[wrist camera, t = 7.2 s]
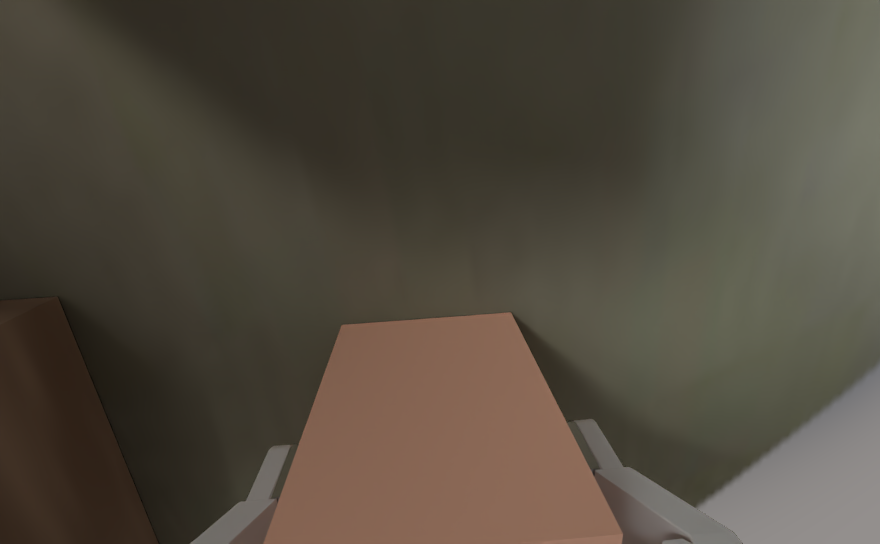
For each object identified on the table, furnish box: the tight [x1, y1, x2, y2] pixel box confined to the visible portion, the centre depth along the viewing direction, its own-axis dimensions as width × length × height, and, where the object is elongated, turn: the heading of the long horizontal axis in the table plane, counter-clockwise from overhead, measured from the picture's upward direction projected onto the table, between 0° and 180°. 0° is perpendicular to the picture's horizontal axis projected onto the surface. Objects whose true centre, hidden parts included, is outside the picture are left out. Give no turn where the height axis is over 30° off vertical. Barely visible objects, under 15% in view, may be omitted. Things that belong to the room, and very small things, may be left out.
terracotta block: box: [263, 312, 623, 544], centre depth 10 cm, size 5×5×7 cm
